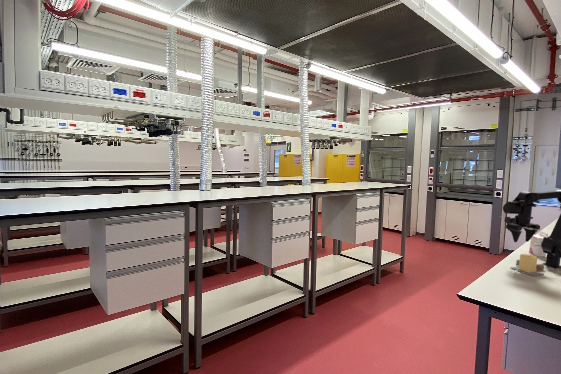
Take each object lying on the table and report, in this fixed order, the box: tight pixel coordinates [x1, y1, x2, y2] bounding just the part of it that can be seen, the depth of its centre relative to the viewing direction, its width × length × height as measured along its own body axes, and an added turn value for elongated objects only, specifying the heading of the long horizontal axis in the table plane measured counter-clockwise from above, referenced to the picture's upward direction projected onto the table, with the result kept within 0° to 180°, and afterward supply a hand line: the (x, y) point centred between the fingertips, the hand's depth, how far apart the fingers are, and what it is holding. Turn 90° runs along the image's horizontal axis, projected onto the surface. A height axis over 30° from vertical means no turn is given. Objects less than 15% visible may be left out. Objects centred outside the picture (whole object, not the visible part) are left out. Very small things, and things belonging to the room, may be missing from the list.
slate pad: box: [510, 266, 545, 277], centre depth 156 cm, size 8×11×1 cm
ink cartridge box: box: [528, 230, 549, 258], centre depth 187 cm, size 9×5×15 cm, turn 168°
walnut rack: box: [515, 259, 545, 271], centre depth 163 cm, size 8×9×3 cm
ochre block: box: [518, 253, 538, 273], centre depth 155 cm, size 5×5×8 cm
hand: (521, 241), depth 166 cm, fingers open, 9 cm apart
